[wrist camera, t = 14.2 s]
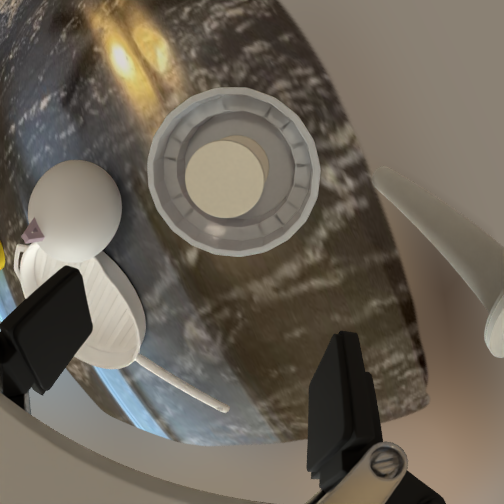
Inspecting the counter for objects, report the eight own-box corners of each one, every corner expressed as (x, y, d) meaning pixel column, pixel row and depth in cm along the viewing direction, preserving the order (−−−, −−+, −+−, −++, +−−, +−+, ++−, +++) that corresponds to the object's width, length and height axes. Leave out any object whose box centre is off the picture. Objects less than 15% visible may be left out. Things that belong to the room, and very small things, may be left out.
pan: (42, 184, 30) (24, 192, 27) (280, 364, 38) (279, 384, 35) (21, 291, 40) (10, 301, 37) (193, 417, 48) (189, 431, 45)
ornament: (61, 205, 31) (-5, 244, 20) (88, 136, 26) (8, 158, 16) (116, 252, 33) (59, 309, 22) (152, 186, 28) (84, 230, 18)
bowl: (344, 159, 25) (356, 168, 21) (250, 259, 31) (244, 284, 27) (226, 64, 22) (212, 54, 18) (145, 178, 28) (121, 190, 24)
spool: (282, 162, 25) (281, 175, 20) (242, 209, 28) (231, 233, 23) (231, 122, 24) (215, 123, 19) (193, 171, 27) (170, 186, 21)
